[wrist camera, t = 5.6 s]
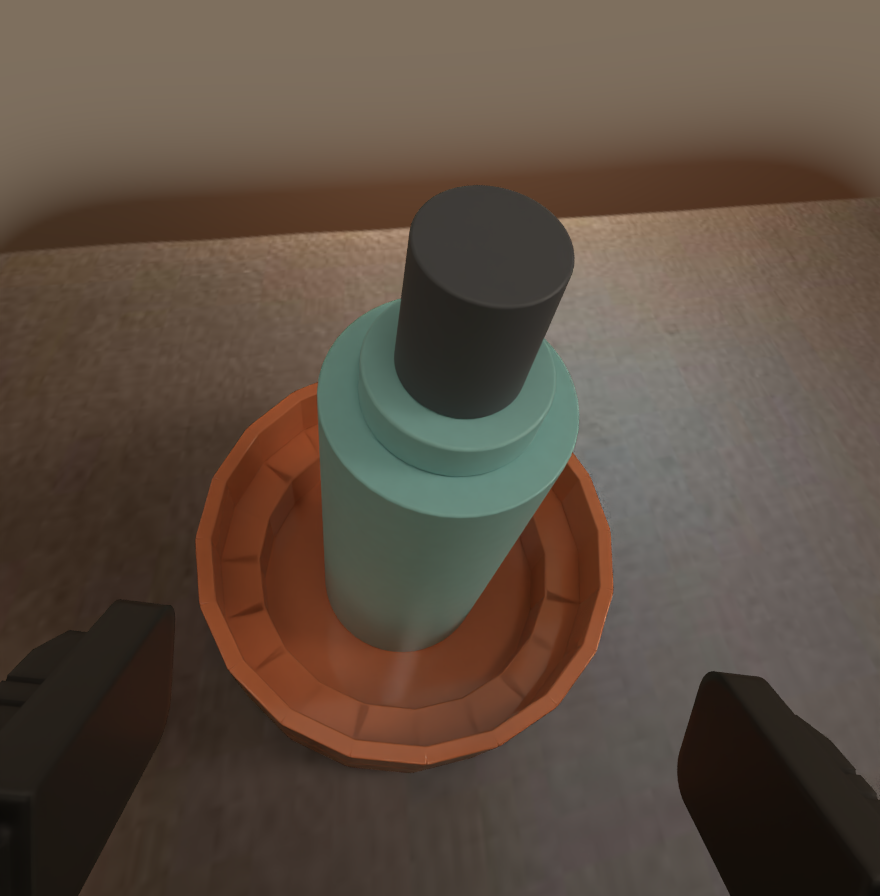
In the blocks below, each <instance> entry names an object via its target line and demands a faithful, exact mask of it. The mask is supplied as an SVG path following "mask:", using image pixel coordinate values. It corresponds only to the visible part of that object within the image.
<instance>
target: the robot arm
mask: <svg viewBox="0 0 880 896" xmlns="http://www.w3.org/2000/svg"><path fill="white" fill-rule="evenodd" d="M174 633H175V612H174V608H173V607H172V606H171V605H163V604H154V603H146V602H138V601H129V600H121V599H119V600H116V601H115V602H114V603H113V604H112V605H111V606H110V607H109V608H108V609H107V610H106V611H105V613H104V614H103V615H102V616H101V617H100V618H99V619H98V620H97V622H96V623H95V624H94V625H93V626H92V627H91V628H90V630H89V631H88V632H81V631H73V630H69V631H67V632H65V633H63V634H61V635H59V636H57V637H55V638H54V639H52V640H50V641H48V642H46V643H44V644H42V645H41V646H39V647H37V648H35V649H33V650H32V651H31V652H30V653H29V654H28V655H27V656H26V657H25V658H24V659H23V660H22V661H21V662H20V663H19V664H18V665H17V666H16V667H15V668H14V669H13V670H12V671H11V672H10V673H9V674H8V675H7V679H6V681H1V682H0V896H78V895H79V893H80V891H81V889H82V887H83V885H84V884H85V882H86V880H87V878H88V876H89V874H90V872H91V870H92V868H93V867H94V865H95V863H96V861H97V859H98V857H99V855H100V853H101V851H102V850H103V848H104V846H105V844H106V842H107V840H108V838H109V836H110V834H111V833H112V831H113V829H114V827H115V825H116V823H117V821H118V819H119V817H120V816H121V814H122V812H123V810H124V808H125V806H126V804H127V802H128V800H129V799H130V797H131V795H132V793H133V791H134V789H135V787H136V785H137V784H138V782H139V780H140V778H141V776H142V774H143V772H144V770H145V768H146V767H147V765H148V763H149V761H150V759H151V757H152V755H153V753H154V751H155V750H156V748H157V746H158V744H159V741H160V739H161V737H162V734H163V731H164V728H165V725H166V721H167V717H168V713H169V707H170V701H171V687H172V669H173V651H174ZM855 770H856V769H855V768H854V767H853V766H852V765H851V763H850V762H849V761H848V760H847V759H846V758H845V757H844V755H843V754H842V753H841V752H840V751H839V750H838V748H837V747H836V746H835V745H834V744H833V743H832V742H831V741H830V740H829V739H828V738H827V737H825V736H824V735H823V734H821V733H820V732H819V731H817V730H816V729H815V728H813V727H812V726H811V725H809V724H808V723H807V722H805V721H804V720H803V719H801V718H800V717H799V716H797V715H795V714H794V713H793V712H792V711H791V710H790V708H789V707H788V706H787V705H786V704H785V702H784V701H783V700H782V699H781V698H780V697H779V695H778V694H777V693H776V692H775V691H774V689H773V688H772V687H771V686H770V685H769V683H768V682H767V681H766V680H764V679H763V678H761V677H757V676H749V675H740V674H732V673H723V672H715V671H711V672H708V673H707V674H706V675H705V676H704V677H703V679H702V681H701V684H700V686H699V690H698V693H697V696H696V699H695V703H694V706H693V709H692V713H691V716H690V719H689V723H688V726H687V729H686V732H685V736H684V739H683V742H682V746H681V749H680V752H679V757H678V765H677V775H678V784H679V789H680V793H681V796H682V799H683V801H684V803H685V805H686V807H687V809H688V811H689V813H690V815H691V817H692V819H693V821H694V823H695V825H696V827H697V829H698V831H699V833H700V835H701V837H702V839H703V841H704V843H705V845H706V847H707V849H708V851H709V853H710V855H711V857H712V859H713V861H714V863H715V865H716V867H717V869H718V871H719V873H720V875H721V878H722V880H723V882H724V884H725V886H726V888H727V890H728V892H729V894H730V896H880V800H878V799H877V793H876V792H875V791H874V790H873V789H872V788H871V786H870V785H869V784H868V783H867V782H866V781H865V780H864V778H863V777H862V776H861V775H856V772H855Z"/></svg>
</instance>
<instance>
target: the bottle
mask: <svg viewBox="0 0 880 896" xmlns="http://www.w3.org/2000/svg"><path fill="white" fill-rule="evenodd" d="M573 268H574V250H573V245H572V242H571V239H570V237H569V235H568V233H567V231H566V229H565V228H564V226H563V225H562V224H561V222H560V221H559V220H558V219H557V218H556V217H555V216H554V215H553V214H552V213H551V212H550V211H549V210H547V209H546V208H545V207H544V206H542V205H541V204H539V203H538V202H536V201H534V200H533V199H531V198H529V197H527V196H525V195H522V194H520V193H517V192H514V191H511V190H508V189H504V188H499V187H493V186H482V185H481V186H480V185H473V186H464V187H457V188H453V189H449V190H447V191H444V192H442V193H439V194H438V195H436V196H434V197H432V198H431V199H430V200H428V201H427V202H426V203H425V204H424V205H423V206H422V207H421V208H420V209H419V211H418V212H417V214H416V215H415V217H414V219H413V221H412V223H411V227H410V232H409V240H408V248H407V256H406V264H405V272H404V280H403V288H402V295H401V299H397V300H394V301H391V302H388V303H385V304H383V305H381V306H378V307H376V308H374V309H372V310H370V311H369V312H367V313H365V314H364V315H362V316H361V317H359V318H358V319H356V320H355V321H354V322H353V323H352V324H350V325H349V326H348V327H347V328H346V329H345V330H344V331H343V332H342V333H341V335H340V336H339V337H338V338H337V339H336V341H335V342H334V344H333V345H332V347H331V348H330V350H329V351H328V353H327V356H326V358H325V360H324V362H323V365H322V368H321V371H320V375H319V379H318V387H317V410H318V431H319V453H320V475H321V497H322V518H323V540H324V562H325V584H326V590H327V595H328V598H329V602H330V604H331V607H332V609H333V611H334V613H335V614H336V616H337V617H338V619H339V621H340V622H341V623H342V624H343V625H344V627H345V628H346V629H347V630H348V631H349V632H351V633H352V634H353V635H354V636H355V637H357V638H358V639H360V640H361V641H363V642H365V643H367V644H369V645H371V646H373V647H376V648H379V649H382V650H387V651H393V652H410V651H417V650H421V649H425V648H428V647H431V646H433V645H435V644H437V643H439V642H441V641H443V640H444V639H445V638H447V637H448V636H450V635H451V634H452V633H453V632H454V631H455V630H456V629H457V628H458V627H459V626H460V625H461V623H462V622H463V621H464V619H465V618H466V616H467V615H468V613H469V612H470V610H471V609H472V607H473V606H474V604H475V603H476V601H477V600H478V598H479V597H480V595H481V594H482V592H483V591H484V589H485V588H486V586H487V585H488V583H489V582H490V580H491V578H492V577H493V575H494V574H495V572H496V571H497V569H498V568H499V566H500V565H501V563H502V562H503V560H504V559H505V557H506V556H507V554H508V553H509V551H510V550H511V548H512V547H513V545H514V544H515V542H516V541H517V539H518V538H519V536H520V535H521V533H522V532H523V530H524V529H525V527H526V525H527V524H528V522H529V521H530V519H531V518H532V516H533V515H534V513H535V512H536V510H537V509H538V507H539V506H540V504H541V503H542V501H543V500H544V498H545V497H546V495H547V494H548V492H549V491H550V489H551V488H552V486H553V485H554V483H555V482H556V480H557V479H558V477H559V476H560V474H561V472H562V471H563V469H564V468H565V466H566V464H567V462H568V461H569V459H570V457H571V455H572V452H573V449H574V447H575V444H576V440H577V435H578V430H579V407H578V399H577V395H576V391H575V387H574V384H573V381H572V379H571V376H570V374H569V372H568V370H567V368H566V366H565V365H564V363H563V361H562V359H561V358H560V357H559V355H558V354H557V352H556V351H555V350H554V348H553V347H552V346H551V345H550V344H549V343H548V342H547V341H546V340H545V339H544V337H545V335H546V332H547V330H548V328H549V325H550V323H551V321H552V319H553V316H554V314H555V312H556V309H557V307H558V305H559V302H560V300H561V298H562V296H563V293H564V291H565V289H566V286H567V284H568V282H569V280H570V277H571V275H572V272H573Z"/></svg>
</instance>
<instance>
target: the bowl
mask: <svg viewBox="0 0 880 896" xmlns="http://www.w3.org/2000/svg"><path fill="white" fill-rule="evenodd" d="M317 387H318V382H317V383H314V384H312V385H309V386H307V387H304V388H302V389H299V390H297V391H294V393H291V394H290V395H289V396H287V397H286V398H285V399H283V400H282V401H281V402H280V403H278V404H277V405H276V406H275V407H273V408H272V409H271V410H269V411H268V412H267V413H266V414H264V415H263V416H262V417H260V418H259V419H258V420H257V421H255V422H254V423H253V424H251V425H250V426H249V427H248V428H247V429H246V430H245V432H244V433H243V434H242V436H241V437H240V439H239V440H238V442H237V443H236V445H235V446H234V448H233V449H232V450H231V452H230V453H229V455H228V456H227V458H226V459H225V461H224V462H223V463H222V465H221V466H220V468H219V469H218V471H217V472H216V474H215V475H214V477H213V479H212V481H211V485H210V488H209V492H208V495H207V499H206V502H205V506H204V509H203V513H202V516H201V520H200V523H199V527H198V531H197V534H196V540H195V547H196V562H197V577H198V592H199V604H200V608H201V611H202V613H203V615H204V617H205V620H206V622H207V624H208V626H209V629H210V631H211V633H212V635H213V638H214V640H215V642H216V644H217V647H218V649H219V651H220V653H221V655H222V658H223V660H224V662H225V664H226V667H227V669H228V670H229V672H230V673H231V675H232V676H233V677H234V679H235V680H236V681H237V683H238V684H239V685H240V686H241V688H242V689H243V690H244V692H245V693H246V694H247V696H248V697H249V698H250V699H251V700H252V701H253V702H254V703H255V704H256V705H257V706H258V707H259V708H260V709H261V710H262V711H263V712H264V713H265V714H266V715H267V716H268V717H269V718H270V719H271V720H272V721H273V722H274V723H275V724H276V725H277V727H278V728H279V729H280V730H281V731H282V732H283V733H284V734H285V735H286V736H287V737H289V738H290V739H291V740H293V741H295V742H297V743H299V744H301V745H303V746H305V747H307V748H309V749H312V750H314V751H316V752H318V753H320V754H322V755H324V756H326V757H328V758H330V759H332V760H334V761H336V762H338V763H341V764H343V765H345V766H348V767H353V768H363V769H373V770H383V771H393V772H403V773H415V772H419V771H423V770H426V769H430V768H434V767H438V766H442V765H446V764H450V763H454V762H458V761H462V760H466V759H469V758H473V757H475V756H477V755H480V754H482V753H485V752H487V751H490V750H492V749H494V748H497V747H499V746H501V745H502V744H504V743H505V742H507V741H508V740H510V739H511V738H513V737H514V736H516V735H517V734H518V733H520V732H521V731H523V730H524V729H526V728H527V727H529V726H530V725H532V724H533V723H535V722H536V721H537V720H539V719H540V718H542V717H543V716H545V715H546V714H548V713H549V712H551V711H552V710H554V709H555V708H556V707H557V706H558V705H559V704H560V702H561V701H562V700H563V698H564V697H565V695H566V694H567V693H568V691H569V690H570V688H571V687H572V686H573V684H574V683H575V681H576V680H577V679H578V677H579V676H580V674H581V673H582V672H583V670H584V669H585V667H586V666H587V665H588V663H589V662H590V660H591V659H592V658H593V656H594V655H595V652H596V651H597V648H598V645H599V641H600V638H601V634H602V630H603V627H604V623H605V620H606V616H607V613H608V609H609V606H610V602H611V599H612V595H613V572H612V552H611V532H610V528H609V525H608V523H607V520H606V517H605V515H604V512H603V509H602V507H601V504H600V501H599V499H598V496H597V493H596V490H595V488H594V485H593V482H592V480H591V477H590V476H589V474H588V472H587V471H586V470H585V468H584V467H583V466H582V464H581V463H580V462H579V460H578V459H577V458H576V456H575V455H574V454H573V452H572V455H571V457H570V459H569V461H568V462H567V464H566V466H565V468H564V469H563V471H562V472H561V474H560V476H559V477H558V479H557V480H556V482H555V483H554V485H553V486H552V488H551V489H550V491H549V492H548V494H547V495H546V497H545V498H544V500H543V501H542V503H541V504H540V506H539V507H538V509H537V510H536V512H535V513H534V515H533V516H532V518H531V519H530V521H529V522H528V524H527V525H526V527H525V529H524V530H523V532H522V533H521V535H520V536H519V538H518V539H517V541H516V542H515V544H514V545H513V547H512V548H511V550H510V551H509V553H508V554H507V556H506V557H505V559H504V560H503V562H502V563H501V565H500V566H499V568H498V569H497V571H496V572H495V574H494V575H493V577H492V578H491V580H490V582H489V583H488V585H487V586H486V588H485V589H484V591H483V592H482V594H481V595H480V597H479V598H478V600H477V601H476V603H475V604H474V606H473V607H472V609H471V610H470V612H469V613H468V615H467V616H466V618H465V619H464V621H463V622H462V623H461V625H460V626H459V627H458V628H457V629H456V630H455V631H454V632H453V633H452V634H451V635H450V636H448V637H447V638H445V639H444V640H443V641H441V642H439V643H437V644H435V645H433V646H431V647H428V648H425V649H421V650H417V651H410V652H393V651H387V650H382V649H379V648H376V647H373V646H371V645H369V644H367V643H365V642H363V641H361V640H360V639H358V638H357V637H355V636H354V635H353V634H352V633H351V632H349V631H348V630H347V629H346V628H345V627H344V625H343V624H342V623H341V622H340V621H339V619H338V617H337V616H336V614H335V613H334V611H333V609H332V607H331V604H330V602H329V598H328V595H327V590H326V584H325V562H324V540H323V518H322V497H321V475H320V453H319V431H318V410H317Z"/></svg>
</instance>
